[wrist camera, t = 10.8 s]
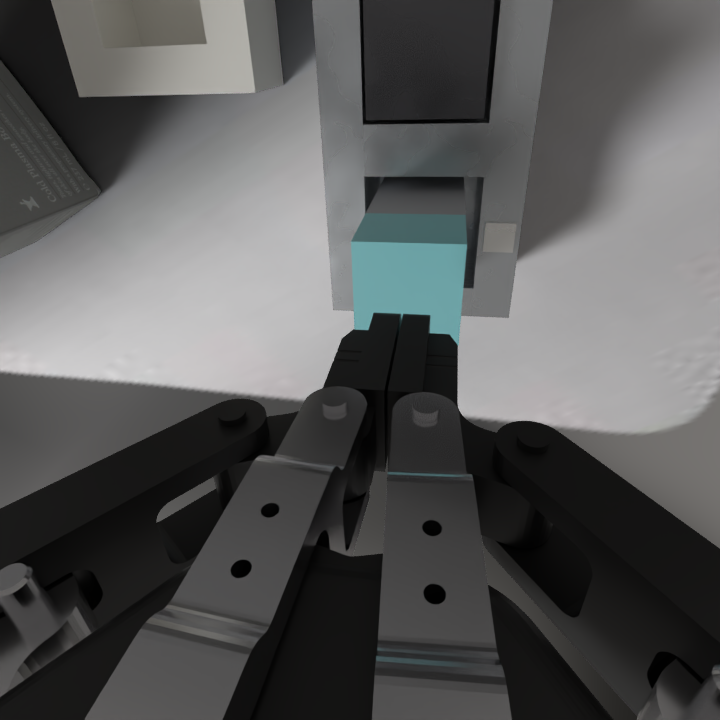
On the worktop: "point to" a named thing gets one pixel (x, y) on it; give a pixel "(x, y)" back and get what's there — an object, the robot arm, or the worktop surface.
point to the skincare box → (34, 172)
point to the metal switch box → (431, 120)
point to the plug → (412, 252)
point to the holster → (170, 46)
